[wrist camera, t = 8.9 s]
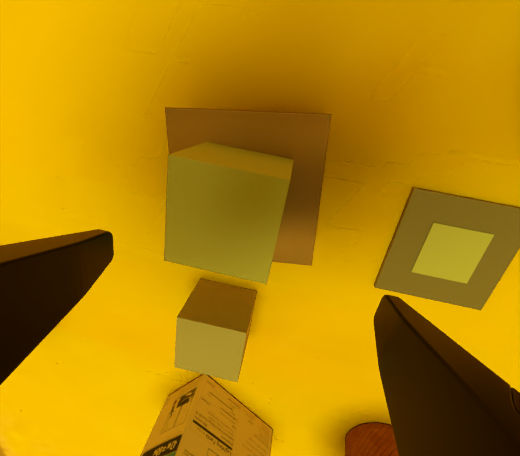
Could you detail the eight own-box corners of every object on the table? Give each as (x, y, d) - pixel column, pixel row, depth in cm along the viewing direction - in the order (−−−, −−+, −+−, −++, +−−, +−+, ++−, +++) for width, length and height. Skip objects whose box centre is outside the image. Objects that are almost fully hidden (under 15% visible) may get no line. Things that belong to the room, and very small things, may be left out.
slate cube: (200, 278, 24) (176, 317, 19) (257, 290, 24) (246, 333, 19) (196, 322, 26) (174, 367, 21) (248, 334, 26) (237, 382, 21)
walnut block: (191, 108, 19) (164, 107, 15) (325, 113, 18) (331, 114, 14) (197, 228, 22) (177, 251, 19) (309, 239, 21) (311, 265, 18)
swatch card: (413, 187, 18) (415, 188, 18) (537, 211, 18) (542, 213, 18) (373, 285, 22) (375, 288, 21) (478, 307, 21) (481, 311, 21)
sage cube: (207, 141, 16) (168, 154, 11) (293, 159, 15) (290, 179, 11) (199, 221, 18) (164, 260, 13) (276, 238, 17) (266, 284, 13)
